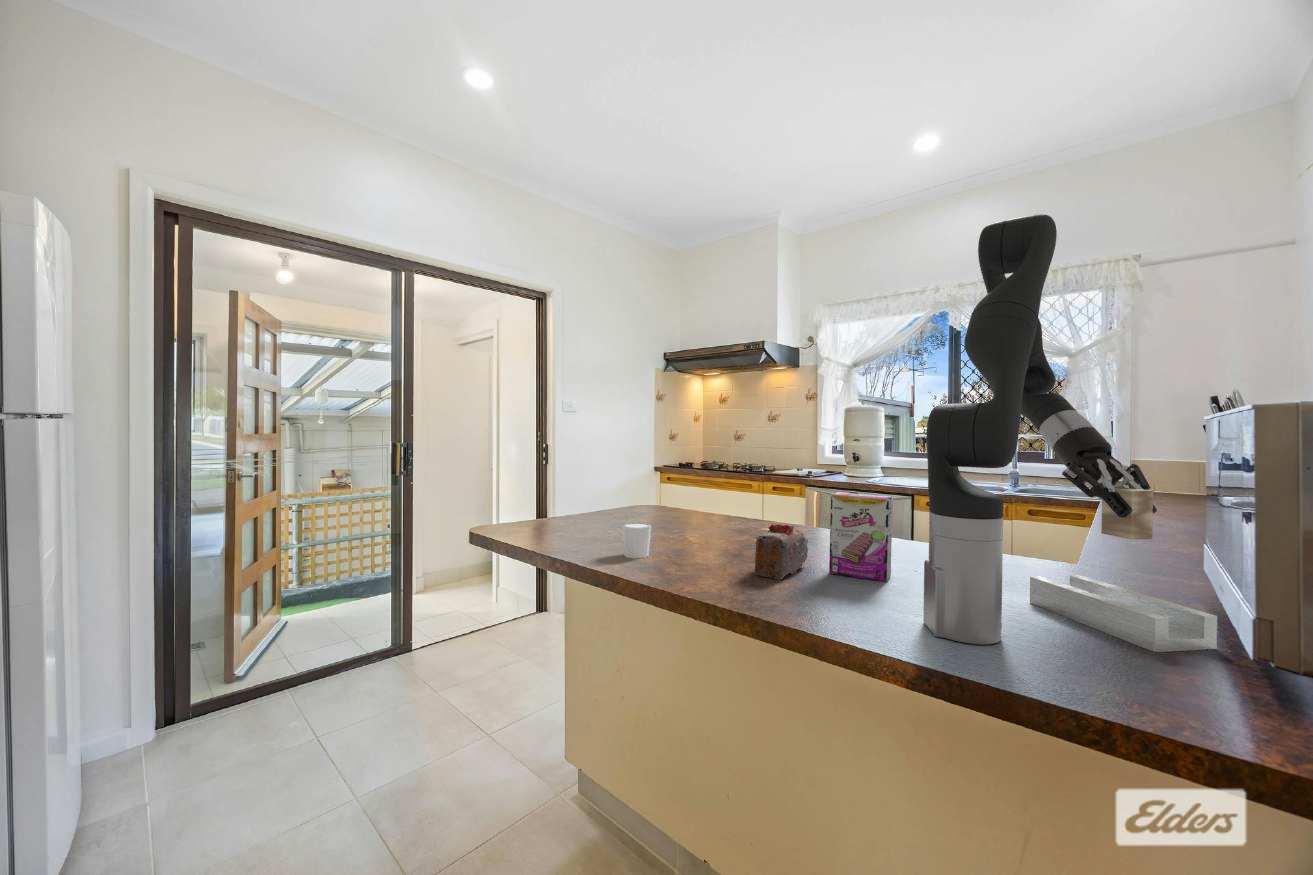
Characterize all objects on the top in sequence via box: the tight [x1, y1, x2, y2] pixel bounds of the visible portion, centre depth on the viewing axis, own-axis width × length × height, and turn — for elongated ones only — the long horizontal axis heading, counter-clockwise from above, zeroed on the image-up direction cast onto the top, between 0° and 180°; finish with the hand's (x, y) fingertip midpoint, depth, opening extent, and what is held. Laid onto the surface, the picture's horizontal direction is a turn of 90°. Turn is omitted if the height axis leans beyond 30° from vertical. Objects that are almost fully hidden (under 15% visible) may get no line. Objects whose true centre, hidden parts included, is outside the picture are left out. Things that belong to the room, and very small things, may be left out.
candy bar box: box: [828, 491, 894, 583], centre depth 105 cm, size 11×5×16 cm, turn 58°
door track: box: [1029, 574, 1218, 653], centre depth 80 cm, size 10×20×4 cm, turn 7°
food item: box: [754, 524, 809, 581], centre depth 108 cm, size 14×8×10 cm, turn 148°
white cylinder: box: [621, 522, 652, 559], centre depth 121 cm, size 7×7×7 cm
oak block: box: [1100, 487, 1154, 540], centre depth 88 cm, size 4×5×8 cm
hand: (1138, 513), depth 86 cm, fingers closed on oak block, 4 cm apart
